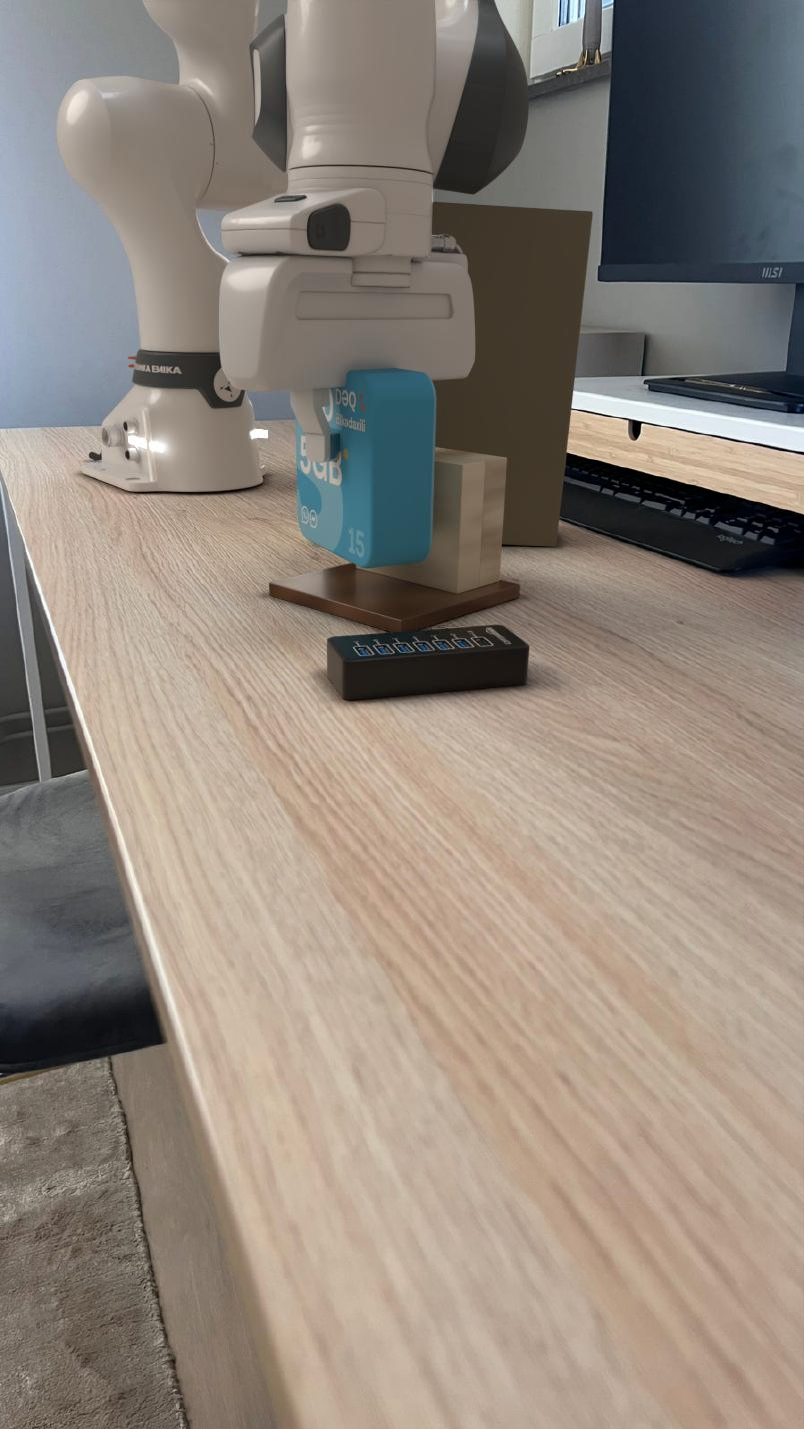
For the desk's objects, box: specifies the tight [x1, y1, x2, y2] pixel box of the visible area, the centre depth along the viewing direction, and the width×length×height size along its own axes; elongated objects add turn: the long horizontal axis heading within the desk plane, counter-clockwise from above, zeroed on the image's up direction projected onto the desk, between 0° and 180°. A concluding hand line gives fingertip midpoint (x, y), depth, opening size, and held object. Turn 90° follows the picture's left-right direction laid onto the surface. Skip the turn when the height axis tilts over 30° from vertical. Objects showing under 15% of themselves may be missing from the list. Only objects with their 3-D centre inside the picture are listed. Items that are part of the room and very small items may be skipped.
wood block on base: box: [268, 447, 521, 632], centre depth 74 cm, size 13×13×10 cm
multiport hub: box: [326, 624, 531, 701], centre depth 59 cm, size 4×11×2 cm, turn 107°
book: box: [431, 201, 594, 548], centre depth 90 cm, size 22×9×28 cm, turn 94°
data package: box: [295, 368, 436, 569], centre depth 69 cm, size 12×4×12 cm, turn 28°
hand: (359, 456), depth 69 cm, fingers closed on data package, 5 cm apart
